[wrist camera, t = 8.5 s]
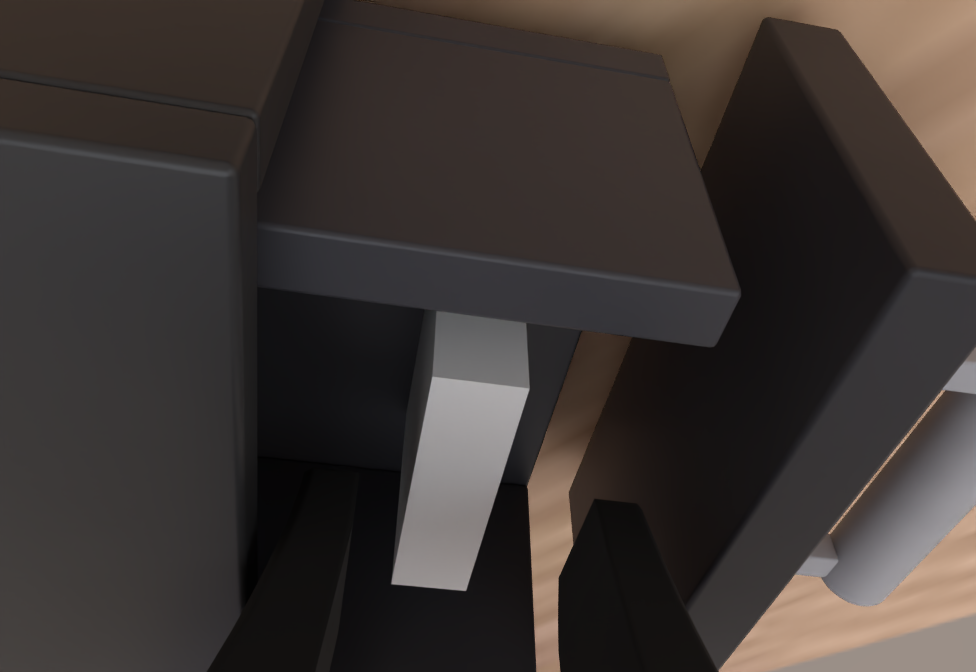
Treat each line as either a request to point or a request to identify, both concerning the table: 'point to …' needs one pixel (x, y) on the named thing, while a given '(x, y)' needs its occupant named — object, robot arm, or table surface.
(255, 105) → the air fryer
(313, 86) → the basket
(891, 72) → the table surface
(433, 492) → the eraser
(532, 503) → the table surface
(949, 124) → the table surface
